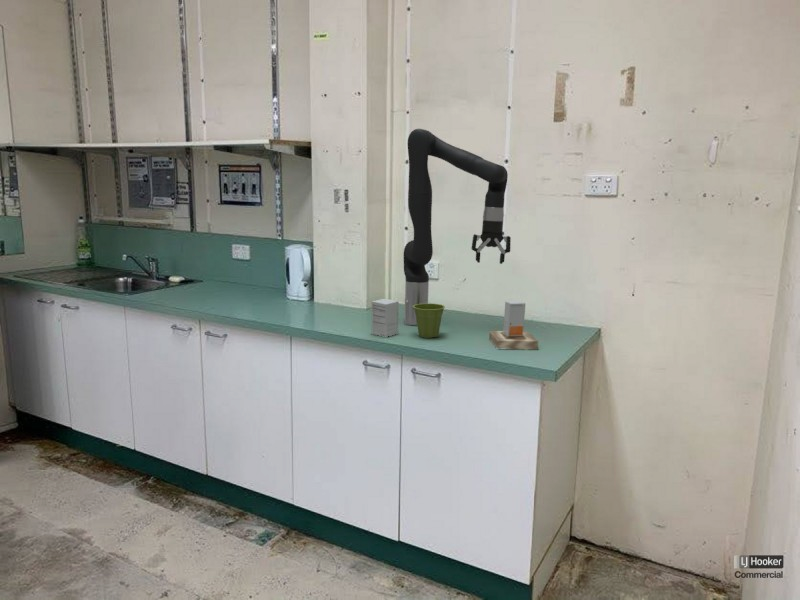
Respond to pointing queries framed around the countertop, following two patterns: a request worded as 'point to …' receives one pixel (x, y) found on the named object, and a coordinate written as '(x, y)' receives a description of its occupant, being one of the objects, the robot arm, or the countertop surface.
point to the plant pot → (428, 319)
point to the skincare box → (514, 318)
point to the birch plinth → (513, 340)
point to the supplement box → (385, 317)
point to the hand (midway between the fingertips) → (489, 263)
